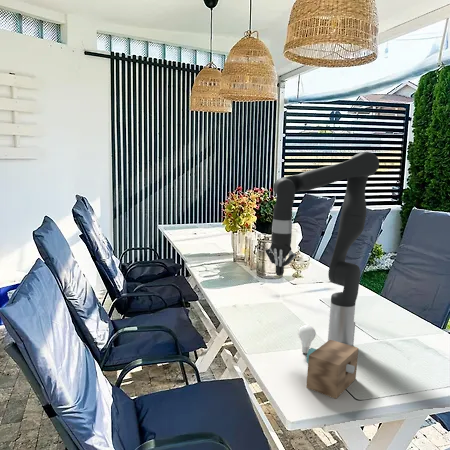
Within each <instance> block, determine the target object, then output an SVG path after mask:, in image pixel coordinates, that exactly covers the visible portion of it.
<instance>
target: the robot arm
mask: <svg viewBox="0 0 450 450" xmlns="http://www.w3.org/2000/svg"><path fill="white" fill-rule="evenodd" d="M379 167H380V160H379V158H378V156H377V154H375V153H373V152H371V151H361V152H358V153H356V154H354V155H353V156H352V157H351V158H350V159H348V160H345V161H342V162H339V163H335V164H331V165H327V166H323V167H319V168H315V169H311V170H307V171H304V172H301V173H299V174H292V175H288V176H284V177H280V178H278V179H276V180H275V181H274V183H273V187H272V188H273V191H274V193H275V195H276V200H275V204H274V205H273V206H274V207H273V214H272V215H273V216H272V224H271V237H270V238H271V239H270V241H271V244H270V247H268V248H267V249H265V253H266V255H267V257H268V259H269V260H270V262H271V264H274V265H275V274H276V276H281V277H282V276H283V274H284V273H285V266H287V265H289V264H290V263H291V262H292V261H293V260H294V259H295V258H296V257H297V253H294V252H293V251H292V247H291V244H292V235H293V234H292V233H293V232H292V231H293V222H292V221H293V205H294V201H295V197H296V193H299V192H308V191H311V190H315V189H318V188H321V187H325V186H328V185H330V184H333V183H337V182H338V181H339V182H340V181H342V180H346V179H347V182H346V190H345V193H344V197H343V198H344V199H343V204H342V208H341V213H340V217H339V223H338V230H337V236H336V241H335V245H334V249H333V252H332V256H331V260H330V263H329V269H328V273H327V274H328V280H329V282H330V283H331V284H334V285H338V286H342V287H343V289H342V291H340V292H338V291H337V292H334V293H332V295H331V296H330V306H329V307H330V308H329V319H328V320H329V321H328V331H327V332H328V335H327V341H329V340H334V341H337V342H340V343H344V344H347V345H350V346H354V341H355V332H356V331H355V330H356V322H355V314H356V301H357V299H358V294H359V287H360V280H361V268H360V266H359V265H357V264H356V263H351V262H347V261H346V258H347V255H348V251H349V249H350V247H351V246H352V245H353V244H354V243H355V242H356V240H358V238H359V237H360V236H361V235H362V233H363V231H364V229H365V224H366V219H367V218H366V217H367V202H366V187H367V183H368V178H369V177H371V176H372V175H374V174H375V173H376V172H377V171H378V170H379ZM287 256H288V257H287Z"/></svg>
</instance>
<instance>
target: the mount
mask: <svg viewBox="0 0 450 450" xmlns="http://www.w3.org/2000/svg"><path fill="white" fill-rule="evenodd" d="M316 349H317V350H315V351H314V352H313V353H311V354H310V355H309V359H308V363H307V374H306V375H307V376H306V389H308V390H311V391H314V392H317V393H320V394H322V395H323V396H327V397H330V398H332V399H335V400H337V399H338V398H339V397H340V396H341V394H343V393H344V391H345V390H347V388H349V387H350V385H351V384H352V383H353V382H354V381H355V380H356V379H357V378H356V377H357V370H358V369H357V368H358V360H359V359H358V356H359V347H356V346H354V345H353V346H350V345H347V344H344V343H340V342H337V341H334V340H329V341H328V340H327V341H326V342H324V343H323V344H322V345H320V346H319V347H318V348H316ZM347 364H349V365H353V366H355V370H354V373H353V374H352V373H349V372H346V365H347Z"/></svg>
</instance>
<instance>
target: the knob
mask: <svg viewBox="0 0 450 450" xmlns="http://www.w3.org/2000/svg"><path fill="white" fill-rule="evenodd" d="M317 349H318V348H314V347H310V348H309V351H308V353H307V354H306V358H305V359H306V363H307V364H308V359H309V355H310V354H311V353H313V352H314V351H315V350H317ZM354 370H355V366H353V365H349V364H347V365H346V372H349V373H352V374H353V373H354Z"/></svg>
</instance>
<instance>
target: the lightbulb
mask: <svg viewBox="0 0 450 450" xmlns="http://www.w3.org/2000/svg"><path fill="white" fill-rule="evenodd" d="M297 335H298V337H299V339H300V341H301V345H302V348H301V352H302V353H304V354H305V355H307V353H308V351H309V349H310V348H311V344H312V342H313V341H314V340H315V338H316V335H317V334H316V330H315V328H314V326H312V325H310V324H303V325H302V326H300V327H299V329H298V333H297Z"/></svg>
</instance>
